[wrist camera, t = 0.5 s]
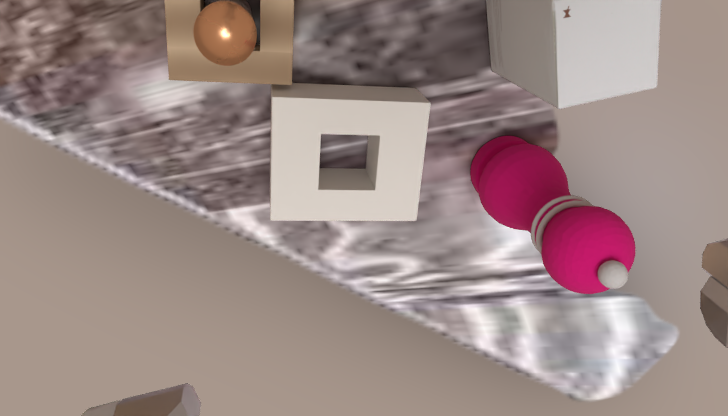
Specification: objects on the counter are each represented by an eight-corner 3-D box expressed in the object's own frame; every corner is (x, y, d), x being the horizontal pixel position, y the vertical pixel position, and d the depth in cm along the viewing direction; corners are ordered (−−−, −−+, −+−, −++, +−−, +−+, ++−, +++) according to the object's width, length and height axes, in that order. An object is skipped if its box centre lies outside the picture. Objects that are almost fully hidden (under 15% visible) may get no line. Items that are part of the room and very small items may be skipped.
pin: (206, -13, 45) (192, 0, 36) (257, -10, 45) (256, 4, 36) (207, 39, 46) (194, 64, 37) (257, 41, 47) (256, 67, 38)
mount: (167, -54, 43) (161, -53, 41) (293, -44, 45) (295, -43, 42) (174, 71, 47) (169, 80, 44) (290, 76, 48) (291, 84, 46)
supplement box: (489, 72, 51) (554, 112, 40) (482, -19, 48) (551, -5, 36) (571, 56, 51) (659, 90, 40) (571, -36, 48) (666, -27, 37)
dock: (271, 82, 48) (272, 96, 44) (415, 87, 50) (430, 103, 46) (269, 195, 52) (270, 220, 48) (403, 197, 54) (416, 220, 50)
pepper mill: (552, 138, 54) (695, 239, 36) (523, 210, 57) (644, 337, 39) (479, 122, 53) (592, 219, 35) (454, 196, 55) (546, 322, 37)
